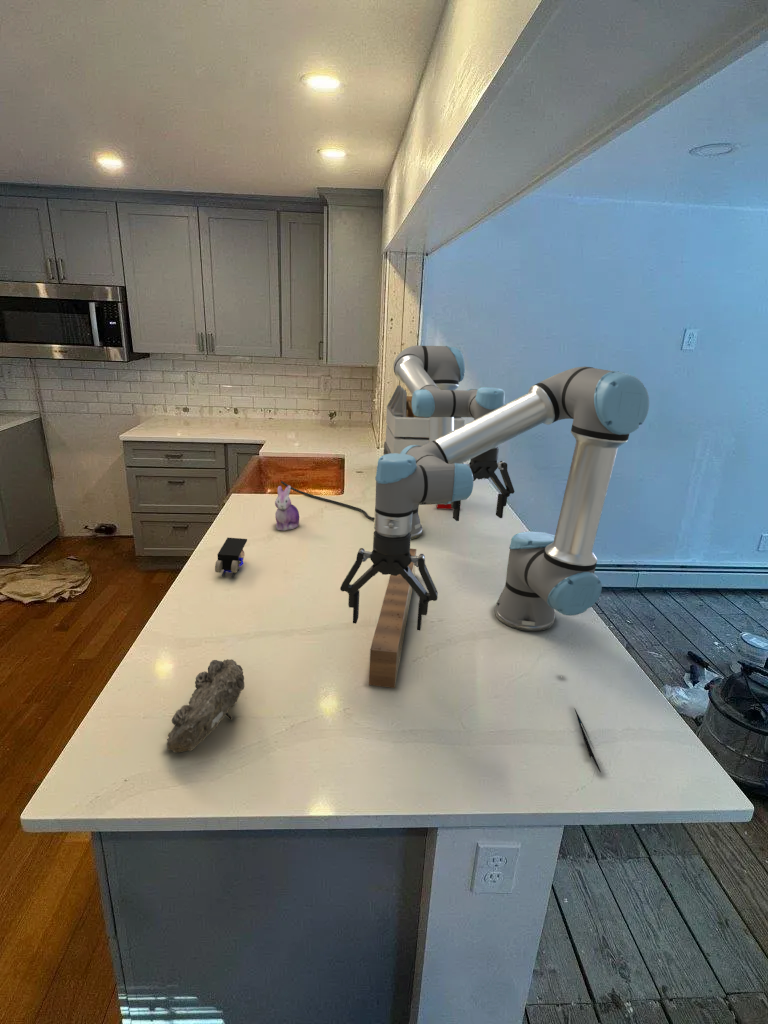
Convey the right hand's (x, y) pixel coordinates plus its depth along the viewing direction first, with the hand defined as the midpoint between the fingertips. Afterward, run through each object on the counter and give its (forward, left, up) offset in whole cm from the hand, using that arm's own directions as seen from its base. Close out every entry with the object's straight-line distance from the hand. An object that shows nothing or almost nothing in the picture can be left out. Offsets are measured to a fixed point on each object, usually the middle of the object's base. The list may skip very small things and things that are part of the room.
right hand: (387, 623), depth 121 cm
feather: (-23, +34, -12) cm, 42 cm away
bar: (-14, -15, -12) cm, 24 cm away
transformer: (-105, -122, -12) cm, 161 cm away
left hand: (-48, -24, +8) cm, 54 cm away
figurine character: (+11, -64, -12) cm, 66 cm away
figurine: (-18, -87, -12) cm, 90 cm away
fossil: (+37, -5, -12) cm, 39 cm away
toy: (-90, -86, -12) cm, 125 cm away
